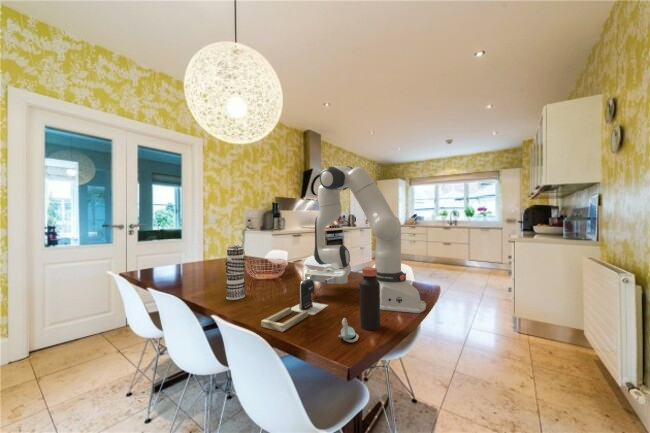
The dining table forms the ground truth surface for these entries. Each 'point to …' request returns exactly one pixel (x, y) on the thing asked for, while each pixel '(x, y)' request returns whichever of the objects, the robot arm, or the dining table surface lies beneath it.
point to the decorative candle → (235, 272)
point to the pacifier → (348, 332)
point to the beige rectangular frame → (287, 324)
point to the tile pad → (312, 310)
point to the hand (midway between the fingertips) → (316, 280)
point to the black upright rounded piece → (305, 294)
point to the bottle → (369, 300)
